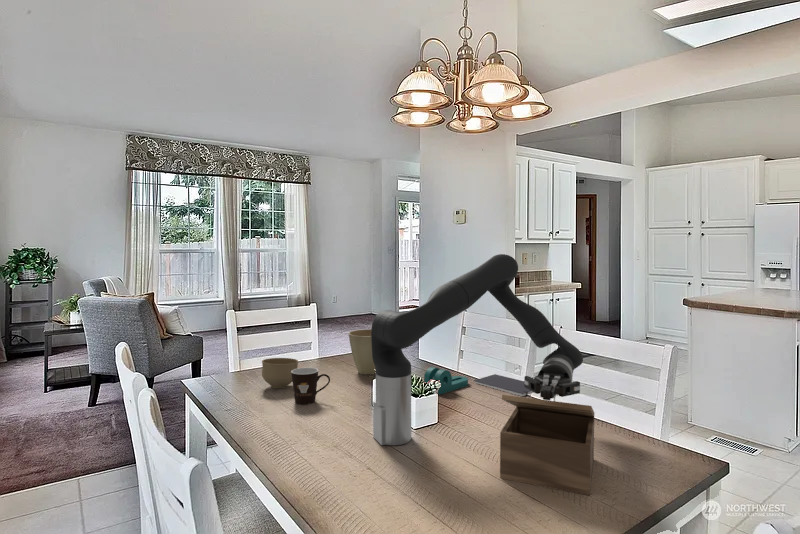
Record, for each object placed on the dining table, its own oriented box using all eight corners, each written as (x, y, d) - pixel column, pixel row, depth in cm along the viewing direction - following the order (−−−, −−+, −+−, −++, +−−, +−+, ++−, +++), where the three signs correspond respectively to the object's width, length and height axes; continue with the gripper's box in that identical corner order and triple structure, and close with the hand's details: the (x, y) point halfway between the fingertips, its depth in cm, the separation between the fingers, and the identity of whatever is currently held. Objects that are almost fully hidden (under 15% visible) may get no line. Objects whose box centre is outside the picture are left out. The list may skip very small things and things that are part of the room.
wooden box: (516, 446, 120) (516, 406, 120) (593, 459, 113) (594, 417, 112) (500, 477, 104) (500, 432, 103) (589, 495, 96) (590, 446, 96)
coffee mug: (286, 403, 153) (285, 372, 152) (301, 396, 161) (301, 366, 160) (317, 408, 149) (317, 376, 148) (331, 400, 156) (331, 369, 156)
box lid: (516, 406, 120) (516, 402, 120) (594, 417, 112) (594, 412, 113) (501, 399, 104) (502, 394, 105) (591, 410, 97) (591, 405, 97)
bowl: (306, 385, 173) (305, 358, 172) (279, 395, 162) (279, 365, 162) (281, 380, 180) (280, 353, 179) (254, 389, 169) (253, 360, 168)
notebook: (544, 390, 168) (494, 378, 184) (544, 386, 168) (494, 374, 184) (522, 398, 160) (473, 384, 176) (522, 393, 160) (473, 380, 176)
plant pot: (341, 372, 191) (340, 332, 190) (370, 365, 201) (370, 328, 201) (364, 379, 180) (364, 337, 180) (394, 372, 190) (394, 332, 190)
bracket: (438, 395, 162) (438, 372, 161) (424, 391, 167) (424, 368, 166) (471, 384, 174) (471, 363, 174) (457, 381, 179) (457, 360, 179)
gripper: (528, 357, 121) (515, 374, 106) (584, 363, 116) (579, 381, 100) (528, 387, 122) (515, 408, 106) (584, 393, 116) (579, 417, 100)
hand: (546, 395), depth 103 cm, fingers closed
